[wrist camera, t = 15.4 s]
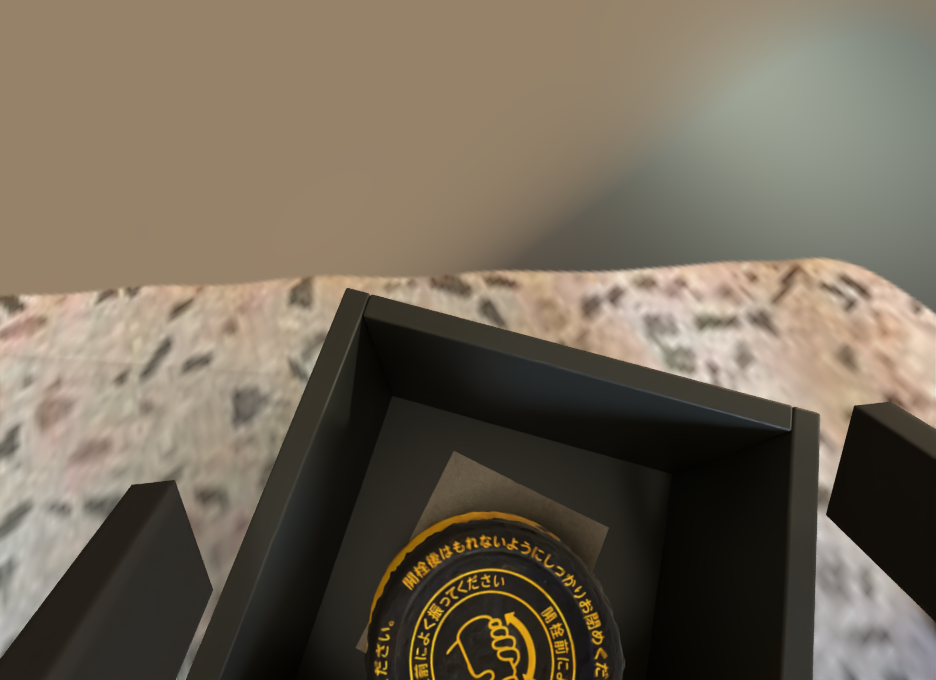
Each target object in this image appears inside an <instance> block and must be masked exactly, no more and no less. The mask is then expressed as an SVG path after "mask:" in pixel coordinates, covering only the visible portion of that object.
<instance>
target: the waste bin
mask: <svg viewBox="0 0 936 680" xmlns="http://www.w3.org/2000/svg"><path fill="white" fill-rule="evenodd" d="M819 437H820V414H819V413H816V412H812V411H809V410H805V409H801V408H797V407H793V408H792V406H790V405H786V404H782V403H779V402H775V401H771V400H767V399H764V398H760V397H756V396H752V395H749V394H745V393H741V392H737V391H734V390H730V389H726V388H722V387H718V386H715V385H711V384H707V383H703V382H700V381H696V380H692V379H688V378H685V377H681V376H677V375H673V374H670V373H666V372H662V371H658V370H654V369H651V368H647V367H643V366H639V365H636V364H632V363H628V362H624V361H621V360H617V359H613V358H609V357H606V356H602V355H598V354H594V353H590V352H587V351H583V350H579V349H575V348H572V347H568V346H564V345H560V344H557V343H553V342H549V341H545V340H542V339H538V338H534V337H530V336H526V335H523V334H519V333H515V332H511V331H508V330H504V329H500V328H496V327H493V326H489V325H485V324H481V323H478V322H474V321H470V320H466V319H462V318H459V317H455V316H451V315H447V314H444V313H440V312H436V311H432V310H429V309H425V308H421V307H417V306H414V305H410V304H406V303H402V302H398V301H395V300H391V299H387V298H383V297H380V296H376V295H371V296H370V294H369V293H365V292H361V291H357V290H354V289H350V288H347V289H346V290H345V293H344V295H343V298H342V300H341V303H340V305H339V307H338V310H337V312H336V315H335V317H334V320H333V322H332V324H331V327H330V329H329V332H328V334H327V337H326V339H325V342H324V344H323V346H322V349H321V351H320V354H319V356H318V359H317V361H316V364H315V366H314V368H313V371H312V373H311V376H310V378H309V381H308V383H307V386H306V388H305V390H304V393H303V395H302V398H301V400H300V403H299V405H298V407H297V410H296V412H295V415H294V417H293V420H292V422H291V425H290V427H289V429H288V432H287V434H286V437H285V439H284V442H283V444H282V447H281V449H280V451H279V454H278V456H277V459H276V461H275V464H274V466H273V468H272V471H271V473H270V476H269V478H268V481H267V483H266V486H265V488H264V490H263V493H262V495H261V498H260V500H259V503H258V505H257V508H256V510H255V512H254V515H253V517H252V520H251V522H250V525H249V527H248V530H247V532H246V534H245V537H244V539H243V542H242V544H241V547H240V549H239V551H238V554H237V556H236V559H235V561H234V564H233V566H232V569H231V571H230V573H229V576H228V578H227V581H226V583H225V586H224V588H223V591H222V593H221V595H220V598H219V600H218V603H217V605H216V608H215V610H214V612H213V615H212V617H211V620H210V622H209V625H208V627H207V630H206V632H205V634H204V637H203V639H202V642H201V644H200V647H199V649H198V652H197V654H196V656H195V659H194V661H193V664H192V666H191V669H190V671H189V674H188V676H187V678H186V680H366V679H367V674H366V671H365V662H364V654H365V653H364V652H362V651H361V650H359V649H357V648H356V646H357V644H358V642H359V640H360V638H361V636H362V634H363V632H364V630H365V628H366V626H367V624H368V622H369V618H370V611H371V605H372V602H373V600H374V595H375V593H376V591H377V588H378V586H379V584H380V582H381V580H382V578H383V576H384V574H385V572H386V569H387V566H388V565H389V563H390V562H391V561H392V560H393V558H394V557H395V555H396V554H397V553H398V552H399V551H400V550H401V549H402V548H403V547H404V546H406V544H407V543H408V541H409V540H410V538H411V536H412V534H413V532H414V530H415V528H416V526H417V524H418V522H419V520H420V518H421V516H422V514H423V512H424V510H425V508H426V506H427V504H428V502H429V500H430V498H431V495H432V493H433V491H434V489H435V488H436V486H437V484H438V482H439V480H440V478H441V476H442V474H443V471H444V469H445V467H446V465H447V463H448V462H449V460H450V458H451V456H452V454H453V452H454V451H455V452H457V453H459V454H461V455H463V456H465V457H467V458H469V459H471V460H473V461H475V462H477V463H479V464H481V465H483V466H485V467H487V468H489V469H491V470H493V471H495V472H497V473H499V474H501V475H503V476H505V477H507V478H509V479H511V480H513V481H514V482H516V483H519V484H521V485H523V486H525V487H527V488H529V489H531V490H533V491H535V492H537V493H539V494H541V495H543V496H545V497H547V498H549V499H551V500H553V501H555V502H557V503H559V504H561V505H563V506H565V507H567V508H569V509H571V510H573V511H576V512H578V513H580V514H582V515H583V516H586V517H588V518H590V519H592V520H594V521H597V522H598V523H600V524H603V525H605V526H607V527H609V529H608V532H607V534H606V537H605V540H604V543H603V546H602V549H601V551H600V554H599V556H598V559H597V561H596V564H595V566H594V569H593V572H592V574H594V575H595V576H596V578H597V579H598V581H599V582H600V583H601V584H602V589H603V593H604V595H605V596H606V597H607V598H608V600H609V602H610V604H611V607H612V610H613V618H614V621H615V623H616V624H617V625H618V627H619V632H620V642H621V646H622V652H623V656H624V658H625V668H624V670H623V677H622V680H812V679H813V645H814V610H815V576H816V541H817V506H818V472H819Z"/></svg>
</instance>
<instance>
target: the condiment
mask: <svg viewBox="0 0 936 680" xmlns="http://www.w3.org/2000/svg"><path fill="white" fill-rule="evenodd" d="M608 529H609V527H607V526H605V525H603V524H600V523H598V522H597V521H594V520H592V519H590V518H588V517H586V516H583V515H582V514H580V513H578V512H576V511H573V510H571V509H569V508H567V507H565V506H563V505H561V504H559V503H557V502H555V501H553V500H551V499H549V498H547V497H545V496H543V495H541V494H539V493H537V492H535V491H533V490H531V489H529V488H527V487H525V486H523V485H521V484H519V483H516V482H514V481H513V480H511V479H509V478H507V477H505V476H503V475H501V474H499V473H497V472H495V471H493V470H491V469H489V468H487V467H485V466H483V465H481V464H479V463H477V462H475V461H473V460H471V459H469V458H467V457H465V456H463V455H461V454H459V453H457V452H455V451H454V452H453V454H452V456H451V458H450V460H449V462H448V463H447V465H446V467H445V469H444V471H443V474H442V476H441V478H440V480H439V482H438V484H437V486H436V488H435V489H434V491H433V493H432V495H431V498H430V500H429V502H428V504H427V506H426V508H425V510H424V512H423V514H422V516H421V518H420V520H419V522H418V524H417V526H416V528H415V530H414V532H413V534H412V536H411V538H410V540H409V541H408V543H407V544H406V546H404V547H403V548H402V549H401V550H400V551H399V552H398V553H397V554H396V555H395V557H394V558H393V560H392V561H391V562H390V563H389V565H388V566H387V569H386V572H385V574H384V576H383V578H382V580H381V582H380V584H379V586H378V588H377V591H376V593H375V595H374V600H373V602H372V605H371V611H370V618H369V622H368V624H367V626H366V628H365V630H364V632H363V634H362V636H361V638H360V640H359V642H358V644H357V646H356V648H357V649H359V650H361V651H362V652H364V653H365V654H364V662H365V671H366V674H367V679H366V680H622V677H623V670H624V668H625V658H624V656H623V652H622V646H621V642H620V632H619V627H618V625H617V624H616V623H615V621H614V618H613V610H612V607H611V604H610V602H609V600H608V598H607V597H606V596H605V595H604V593H603V589H602V584H601V583H600V582H599V581H598V579H597V578H596V576H595V575H594V574H592V572H593V569H594V566H595V564H596V561H597V559H598V556H599V554H600V551H601V549H602V546H603V543H604V540H605V537H606V534H607V532H608Z"/></svg>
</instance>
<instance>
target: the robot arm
mask: <svg viewBox="0 0 936 680" xmlns="http://www.w3.org/2000/svg"><path fill="white" fill-rule="evenodd" d="M826 515H827V516H828V517H829V518H830V519H831V520H832V521H833V522H834V523H835V524H836V525H837V526H838V527H839V528H840V529H841V530H842V531H843V532H844V533H845V534H846V535H847V536H848V537H849V538H850V539H851V540H852V541H853V542H854V543H855V544H856V545H857V546H858V547H859V548H860V549H861V550H863V551H864V552H865V553H866V554H867V555H868V556H869V557H870V558H871V559H872V560H873V561H874V562H875V563H876V564H877V565H878V566H879V567H880V568H881V569H882V570H883V571H884V572H885V573H886V574H887V575H888V576H889V577H890V578H891V579H892V580H893V581H894V582H895V583H896V584H897V585H898V586H899V587H901V588H902V589H903V590H904V591H905V592H906V593H907V594H908V595H909V596H910V597H911V598H912V599H913V600H914V601H915V602H916V603H917V604H918V605H919V606H920V607H921V608H922V609H923V610H924V611H925V612H926V613H927V614H928V615H929V616H930V617H931V618H932V619H933V620H934V621H935V622H936V429H935V428H933V427H931V426H930V425H928V424H926V423H925V422H923V421H921V420H920V419H918V418H916V417H915V416H913V415H912V414H910V413H908V412H907V411H905V410H903V409H902V408H900V407H898V406H897V405H895V404H893V403H892V402H884V403H875V404H866V405H857V406H854V408H853V412H852V416H851V420H850V424H849V428H848V431H847V435H846V439H845V443H844V447H843V451H842V455H841V459H840V462H839V466H838V470H837V474H836V478H835V482H834V486H833V489H832V493H831V497H830V501H829V505H828V509H827V513H826ZM212 591H213V588H212V585H211V583H210V580H209V577H208V574H207V571H206V568H205V565H204V563H203V560H202V557H201V554H200V551H199V548H198V545H197V542H196V540H195V537H194V534H193V531H192V528H191V525H190V522H189V519H188V517H187V514H186V511H185V508H184V505H183V502H182V499H181V496H180V494H179V491H178V488H177V485H176V482H175V480H172V481H163V482H153V483H144V484H135V485H131V486H130V488H129V489H128V490H127V492H126V493H125V494H124V496H123V497H122V498H121V500H120V501H119V502H118V504H117V505H116V506H115V508H114V509H113V510H112V512H111V513H110V514H109V516H108V517H107V518H106V520H105V521H104V522H103V524H102V525H101V526H100V528H99V529H98V530H97V532H96V533H95V534H94V536H93V537H92V538H91V539H90V541H89V542H88V543H87V545H86V546H85V547H84V549H83V550H82V551H81V553H80V554H79V555H78V557H77V558H76V559H75V561H74V562H73V563H72V565H71V566H70V567H69V569H68V570H67V571H66V573H65V574H64V575H63V577H62V578H61V579H60V581H59V582H58V583H57V585H56V586H55V587H54V589H53V590H52V591H51V593H50V594H49V595H48V596H47V598H46V599H45V600H44V602H43V603H42V604H41V606H40V607H39V608H38V610H37V611H36V612H35V614H34V615H33V616H32V618H31V619H30V620H29V622H28V623H27V624H26V626H25V627H24V628H23V630H22V631H21V632H20V634H19V635H18V636H17V638H16V639H15V640H14V642H13V643H12V644H11V646H10V647H9V648H8V650H7V651H6V652H5V654H4V655H3V656H2V657H1V659H0V680H176V677H177V675H178V672H179V670H180V668H181V665H182V663H183V661H184V658H185V656H186V653H187V651H188V649H189V646H190V644H191V641H192V639H193V637H194V634H195V632H196V629H197V627H198V625H199V622H200V620H201V617H202V615H203V613H204V610H205V608H206V606H207V603H208V601H209V598H210V596H211V594H212Z"/></svg>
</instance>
